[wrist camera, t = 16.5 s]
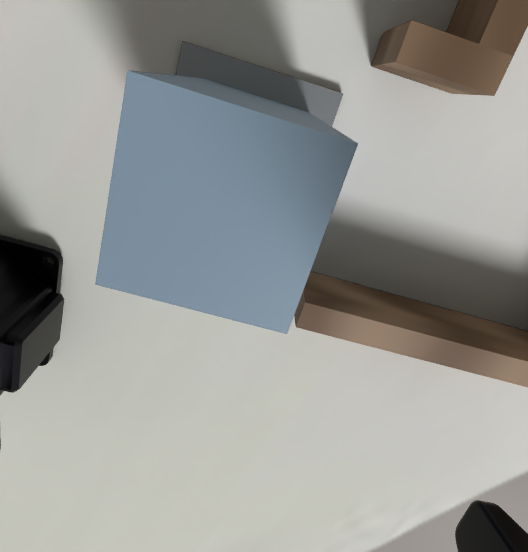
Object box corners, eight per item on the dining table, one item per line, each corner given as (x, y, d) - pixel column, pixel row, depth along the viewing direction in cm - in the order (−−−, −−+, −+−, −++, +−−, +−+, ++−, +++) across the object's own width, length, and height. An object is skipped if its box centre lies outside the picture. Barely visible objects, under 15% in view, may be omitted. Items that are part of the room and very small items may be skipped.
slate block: (179, 185, 18) (95, 284, 9) (202, 78, 17) (127, 70, 8) (276, 214, 19) (287, 334, 10) (309, 112, 17) (358, 143, 8)
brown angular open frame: (291, 289, 21) (295, 327, 18) (432, -106, 15) (478, -158, 11) (540, 357, 22) (586, 402, 19) (763, 25, 16) (885, 10, 13)
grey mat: (153, 200, 19) (151, 202, 19) (183, 41, 16) (182, 40, 16) (292, 239, 20) (292, 242, 20) (341, 93, 17) (343, 93, 17)
